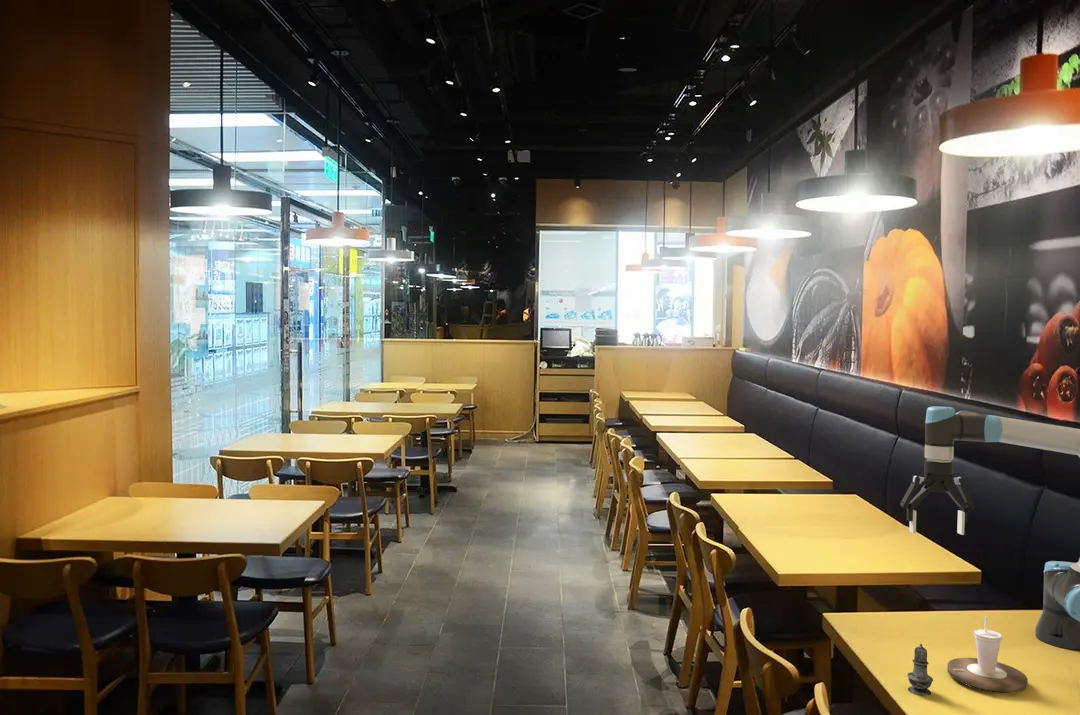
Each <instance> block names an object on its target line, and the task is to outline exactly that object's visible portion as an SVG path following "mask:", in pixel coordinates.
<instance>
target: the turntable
mask: <svg viewBox="0 0 1080 715" xmlns="http://www.w3.org/2000/svg"><path fill="white" fill-rule="evenodd" d="M946 668H947V669H946V670H947V673H948V675H949V676H951V677H952V678H953V679H955V680H956V681H959V682H961V683H962V684H964V683H965V684H964V685H966V684H967V685H966V686H968V685H970V686H973V687H977V688H980V689H985V690H990V691H996V692H1011V693H1017V692H1022V691H1024V690H1026V689H1027V688H1028V686H1029V682H1028V681H1029V680H1028V679H1029V678H1028V677H1027V675H1026V674H1025V673H1024V672H1022V671H1021V670H1019V669H1018V668H1015V667H1013V666H1010V665H1007V664H1005V663H1001V662H1000V661H999V662H998V661H997V664H996V669H995V673H993V674H988V673H984V672H981V671H980V670H979V668H978V659H977V657H957V658H953V659H950V660H949V661H948V663H947V667H946ZM970 686H969V687H970ZM973 687H972V688H973Z"/></svg>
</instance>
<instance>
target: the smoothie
mask: <svg viewBox="0 0 1080 715" xmlns="http://www.w3.org/2000/svg"><path fill="white" fill-rule="evenodd" d="M973 636H974V637H975V647H976V656H977V657H976V658H977V659H978V668H979V670H980V671H981V672H984V673H988V674H993V673H995V669H996V664H997V662H998V656H999V652H1000V646H1001V642H1002V641H1003V635H1002V634H1001V633H999V632H997V631H995V630H991V629H988V616H987V615H984V628H977V629H975V630H973Z"/></svg>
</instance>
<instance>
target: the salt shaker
mask: <svg viewBox="0 0 1080 715" xmlns="http://www.w3.org/2000/svg"><path fill="white" fill-rule="evenodd" d="M923 646H924V645H923V644H922V643H919V646H917V647H915V648H914V651H913V652H914V655H913V656H914V657H913V658H914V659H912V662H913V670H912V672H907V675H906V676H907V678H908V682H909V684H910V685H911V686H909V687H907V691H908V692H909V693H911V694H913V695H916V696H919V695H920V696H921V697H928V696H929V695H930V696H931V695H932V694H931V693H932V691H931V690H930V689H929V688H930V687H931V686H932V684H933V681H934V678H933V677H932V676H931V675H929V674H928V665H929V664H930V663H929V662H928V650H927V648H925V647H923ZM930 696H929V697H930Z"/></svg>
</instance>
